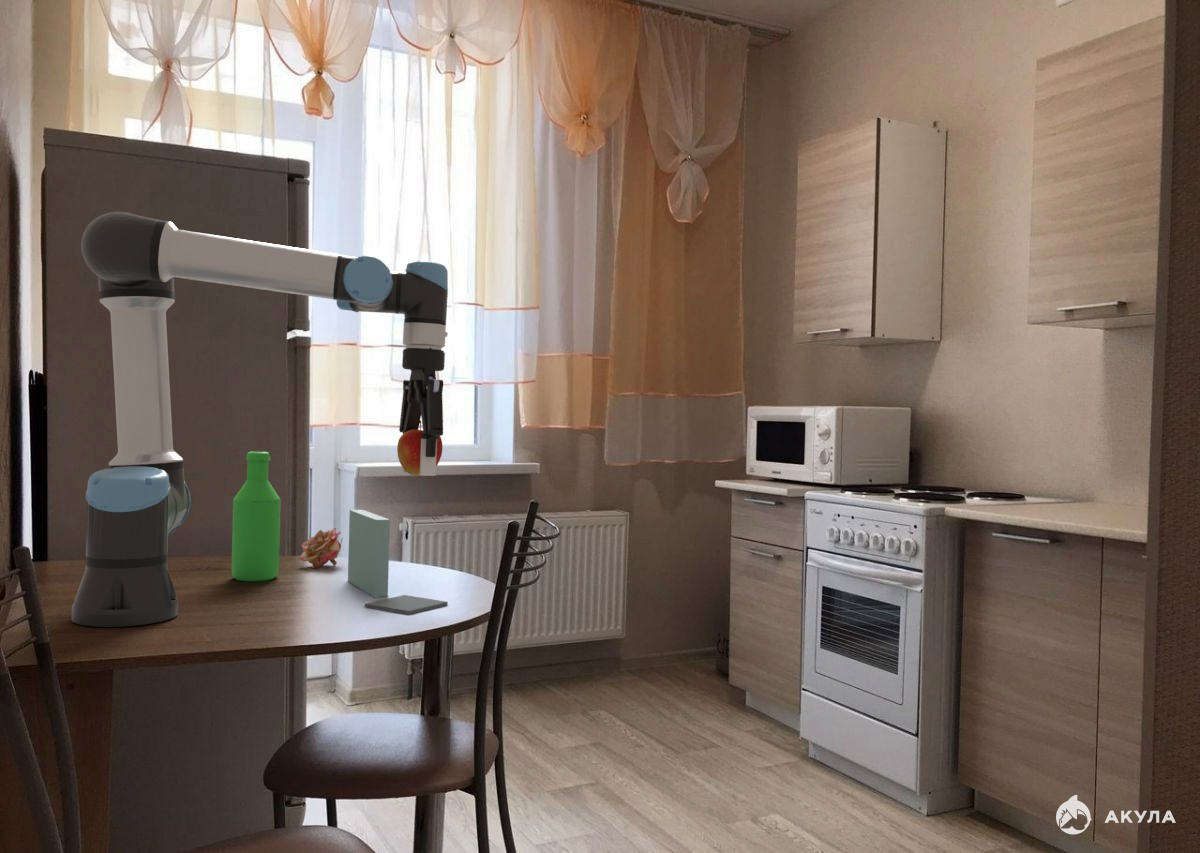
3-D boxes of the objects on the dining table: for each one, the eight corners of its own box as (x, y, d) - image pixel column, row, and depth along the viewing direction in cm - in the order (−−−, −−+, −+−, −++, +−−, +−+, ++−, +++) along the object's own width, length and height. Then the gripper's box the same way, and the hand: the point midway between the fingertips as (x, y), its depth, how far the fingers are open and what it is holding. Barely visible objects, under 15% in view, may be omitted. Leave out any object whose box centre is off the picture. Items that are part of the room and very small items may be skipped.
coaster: (408, 614, 161) (408, 610, 161) (364, 606, 166) (364, 603, 166) (447, 605, 170) (447, 601, 170) (404, 598, 175) (404, 594, 175)
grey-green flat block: (390, 596, 177) (392, 519, 177) (374, 597, 175) (376, 519, 175) (362, 579, 192) (364, 509, 192) (347, 580, 191) (349, 509, 191)
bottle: (286, 575, 195) (289, 451, 194) (266, 583, 186) (270, 453, 186) (243, 573, 196) (246, 450, 195) (222, 581, 187) (226, 451, 187)
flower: (334, 553, 215) (314, 525, 212) (361, 549, 209) (341, 520, 206) (307, 582, 208) (286, 554, 205) (334, 579, 202) (313, 550, 199)
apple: (402, 476, 170) (405, 419, 170) (391, 473, 178) (393, 418, 178) (447, 477, 174) (449, 421, 174) (434, 473, 181) (436, 420, 181)
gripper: (466, 347, 169) (460, 478, 169) (422, 351, 186) (417, 469, 187) (425, 344, 165) (420, 478, 165) (384, 348, 182) (379, 469, 183)
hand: (418, 473), depth 176 cm, fingers closed on apple, 8 cm apart
